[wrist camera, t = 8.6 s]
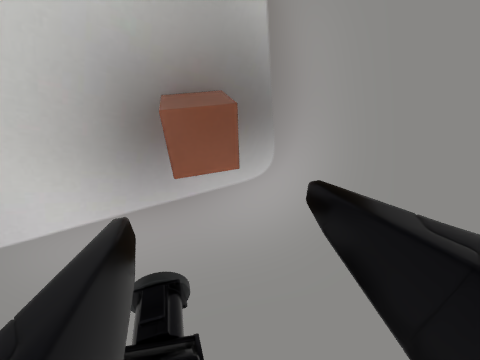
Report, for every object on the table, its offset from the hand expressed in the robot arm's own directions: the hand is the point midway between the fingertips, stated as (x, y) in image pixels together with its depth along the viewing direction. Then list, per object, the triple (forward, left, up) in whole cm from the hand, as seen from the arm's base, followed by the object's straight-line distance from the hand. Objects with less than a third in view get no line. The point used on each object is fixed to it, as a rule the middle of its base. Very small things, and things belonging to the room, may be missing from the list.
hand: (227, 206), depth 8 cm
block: (0, 0, -11) cm, 11 cm away
